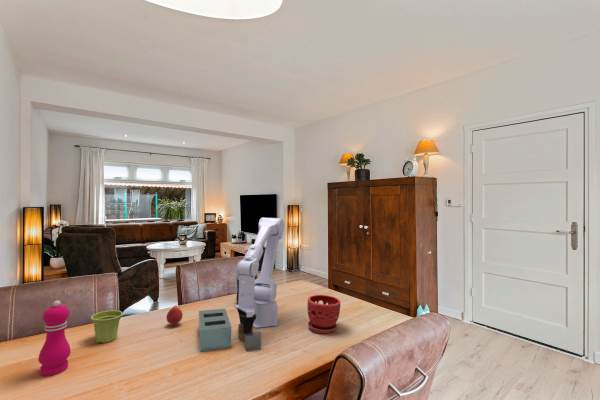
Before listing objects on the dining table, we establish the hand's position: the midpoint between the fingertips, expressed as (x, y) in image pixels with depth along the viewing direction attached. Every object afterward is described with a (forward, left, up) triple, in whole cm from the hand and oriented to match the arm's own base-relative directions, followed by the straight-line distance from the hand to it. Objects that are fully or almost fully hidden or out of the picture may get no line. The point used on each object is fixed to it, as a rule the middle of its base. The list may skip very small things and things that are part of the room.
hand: (245, 330), depth 111 cm
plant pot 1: (+47, -13, -3) cm, 49 cm away
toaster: (+11, -4, -3) cm, 12 cm away
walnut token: (0, 0, -3) cm, 3 cm away
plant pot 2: (-31, +1, -3) cm, 31 cm away
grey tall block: (-1, +9, -3) cm, 9 cm away
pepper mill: (+56, +5, -3) cm, 56 cm away
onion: (+25, -19, -3) cm, 32 cm away
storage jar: (-7, -37, -3) cm, 38 cm away
